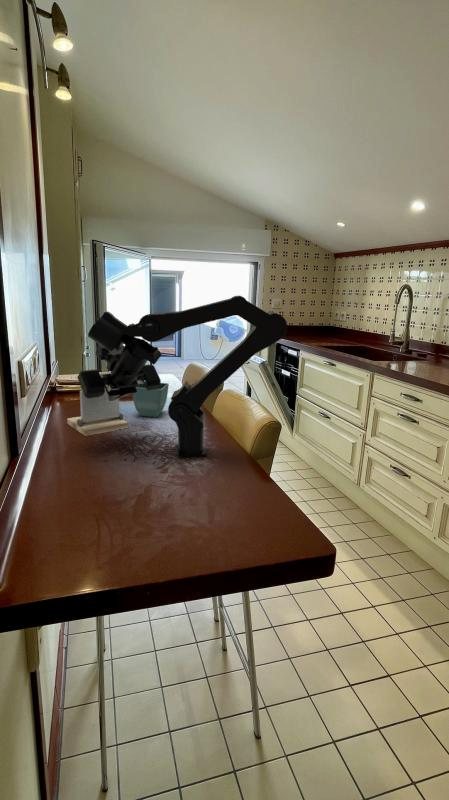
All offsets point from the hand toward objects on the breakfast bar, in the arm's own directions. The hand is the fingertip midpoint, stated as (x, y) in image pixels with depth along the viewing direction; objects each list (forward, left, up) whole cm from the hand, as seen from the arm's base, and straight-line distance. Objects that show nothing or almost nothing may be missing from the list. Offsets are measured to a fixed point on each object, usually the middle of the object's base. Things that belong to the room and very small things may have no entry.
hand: (110, 399), depth 105 cm
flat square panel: (+6, +3, -7) cm, 10 cm away
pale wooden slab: (+8, +3, -9) cm, 13 cm away
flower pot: (+17, -11, -9) cm, 23 cm away
